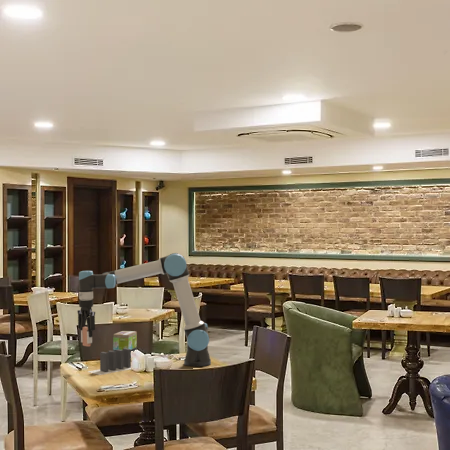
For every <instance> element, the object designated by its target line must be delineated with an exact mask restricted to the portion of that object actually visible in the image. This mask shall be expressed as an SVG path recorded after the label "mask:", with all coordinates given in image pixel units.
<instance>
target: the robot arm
mask: <svg viewBox="0 0 450 450" xmlns="http://www.w3.org/2000/svg"><path fill="white" fill-rule="evenodd" d="M159 274H161V275H166V276H167V278H168V281H169V282H170V283H172V285H173V288H174V293H175V295H176V298H177V302H178V305H179V309H180V311H181V315H182V317H183V318H182V319H183V321H184V323H185V324H184V328H183V331H184V334H185V337H186V345H187V346H186V354H185V358H184V359H183V365H184V366H188V367H205V366H210V365H211V364H212V359H211V357H210V353H209V349H208V347H209V346H208V345H209V343H210V335H209V331H208V330H209V327H208V326H209V325H208V323H206V322H204V321H203V320H201V317H200V313H199V311H198V307H197V304H196V301H195V297H194V294H193V291H192V288H191V284H190V282H189V277H190V270H189V268H188V265H187V260H186V258H185V256H183V255H182V254H181V253H177V252H174V253H170V254H168V255H166V256H163V257H159V258H158V260H155V261H149V262H145V263H141V264H137V265H133V266H129V267H124V268H120V269H117V270H116V269H115V270H112V271H105V272H103V273H102V274H100V273H99V274H96V273H95V274H94V272H93V270H82V271H79V272H78V299H79V301H78V306H79V308H80V309H78V310H77V328H78V329H79V330H80V343H83V327H88V330H87V344H89V343H91V344H93V331H95V330H96V317H95V316H96V311H93V309H92V308H93V307H94V300H93V299H94V289H114V288H115V287H116V285H118V284H122V283H123V284H124V283H126V282H130V281H135V280H139V279H143V278H146V277H152V276H156V275H159Z"/></svg>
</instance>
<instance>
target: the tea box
mask: <svg viewBox="0 0 450 450" xmlns="http://www.w3.org/2000/svg"><path fill="white" fill-rule="evenodd" d="M137 335H138V332H137V331H135V330H134V331H131V330H122V331H118V332H116V333H113V336H112V337H113V338H112V339H113V340H112V342H113V343H112V351H115V350H117V349H118V350H123V348H127V349H131V351H135V350H137V348H138V346H137V344H138V342H137V341H138V338H137V337H138V336H137Z"/></svg>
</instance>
